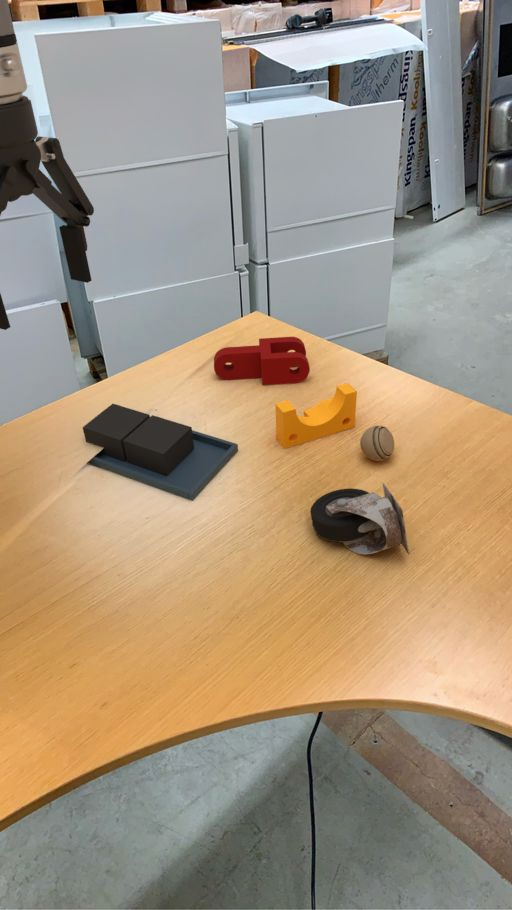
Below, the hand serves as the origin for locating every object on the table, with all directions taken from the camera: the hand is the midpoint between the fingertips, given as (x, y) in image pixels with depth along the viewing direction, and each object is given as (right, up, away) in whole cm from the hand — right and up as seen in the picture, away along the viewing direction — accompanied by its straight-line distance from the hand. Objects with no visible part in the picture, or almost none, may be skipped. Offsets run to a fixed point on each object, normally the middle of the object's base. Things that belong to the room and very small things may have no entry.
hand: (42, 302), depth 77 cm
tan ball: (+42, -18, +17) cm, 49 cm away
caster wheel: (+37, -28, +5) cm, 47 cm away
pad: (+5, -16, +22) cm, 27 cm away
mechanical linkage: (+26, -4, +37) cm, 45 cm away
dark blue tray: (+10, -18, +19) cm, 29 cm away
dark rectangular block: (+11, -18, +19) cm, 28 cm away
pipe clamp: (+34, -14, +23) cm, 43 cm away
